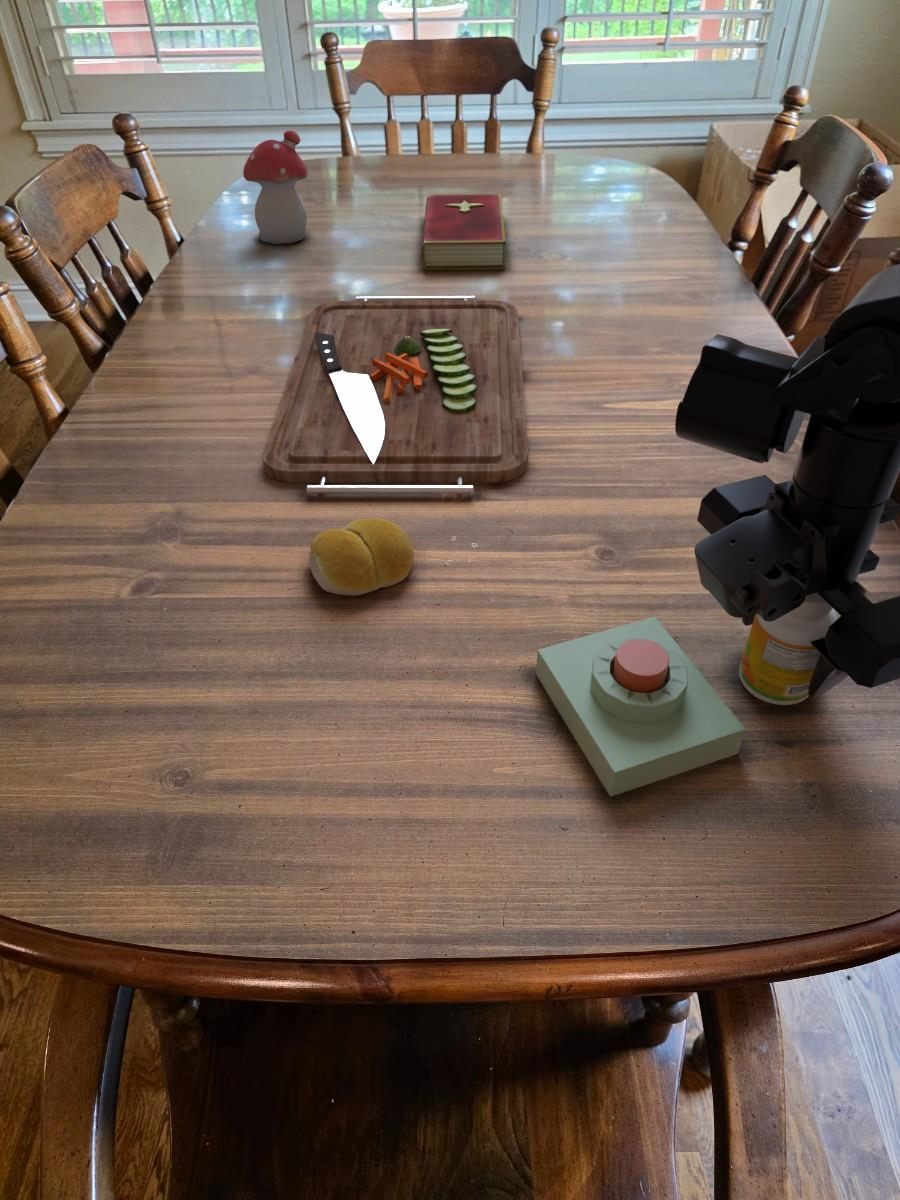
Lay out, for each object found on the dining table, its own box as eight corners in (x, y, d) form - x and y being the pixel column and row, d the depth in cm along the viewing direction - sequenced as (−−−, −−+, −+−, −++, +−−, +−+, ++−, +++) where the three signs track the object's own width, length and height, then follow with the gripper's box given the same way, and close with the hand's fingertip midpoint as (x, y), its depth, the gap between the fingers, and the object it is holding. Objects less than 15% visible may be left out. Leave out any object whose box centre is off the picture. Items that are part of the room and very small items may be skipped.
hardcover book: (421, 270, 125) (420, 240, 123) (426, 219, 141) (425, 192, 138) (504, 269, 125) (505, 239, 122) (500, 219, 141) (501, 191, 138)
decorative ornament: (316, 230, 138) (304, 126, 128) (312, 245, 133) (299, 138, 123) (257, 231, 138) (241, 127, 128) (251, 246, 133) (233, 139, 123)
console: (650, 640, 69) (658, 598, 66) (737, 754, 60) (752, 712, 57) (535, 674, 66) (538, 632, 63) (610, 797, 58) (617, 755, 55)
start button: (648, 650, 62) (652, 632, 61) (675, 685, 60) (679, 667, 59) (604, 663, 62) (606, 646, 60) (629, 699, 59) (632, 681, 58)
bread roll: (429, 577, 75) (427, 541, 72) (332, 611, 72) (327, 574, 69) (389, 526, 80) (387, 490, 78) (298, 555, 78) (292, 519, 75)
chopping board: (530, 497, 83) (531, 470, 81) (253, 497, 84) (248, 470, 82) (515, 302, 117) (516, 279, 115) (317, 303, 117) (315, 281, 115)
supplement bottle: (749, 645, 68) (778, 549, 62) (819, 670, 66) (857, 573, 60) (728, 690, 65) (757, 593, 58) (802, 718, 63) (840, 620, 56)
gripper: (649, 433, 58) (622, 605, 68) (832, 610, 45) (764, 788, 55) (789, 401, 61) (742, 571, 71) (1000, 559, 48) (904, 739, 58)
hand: (780, 657), depth 64 cm, fingers open, 7 cm apart
